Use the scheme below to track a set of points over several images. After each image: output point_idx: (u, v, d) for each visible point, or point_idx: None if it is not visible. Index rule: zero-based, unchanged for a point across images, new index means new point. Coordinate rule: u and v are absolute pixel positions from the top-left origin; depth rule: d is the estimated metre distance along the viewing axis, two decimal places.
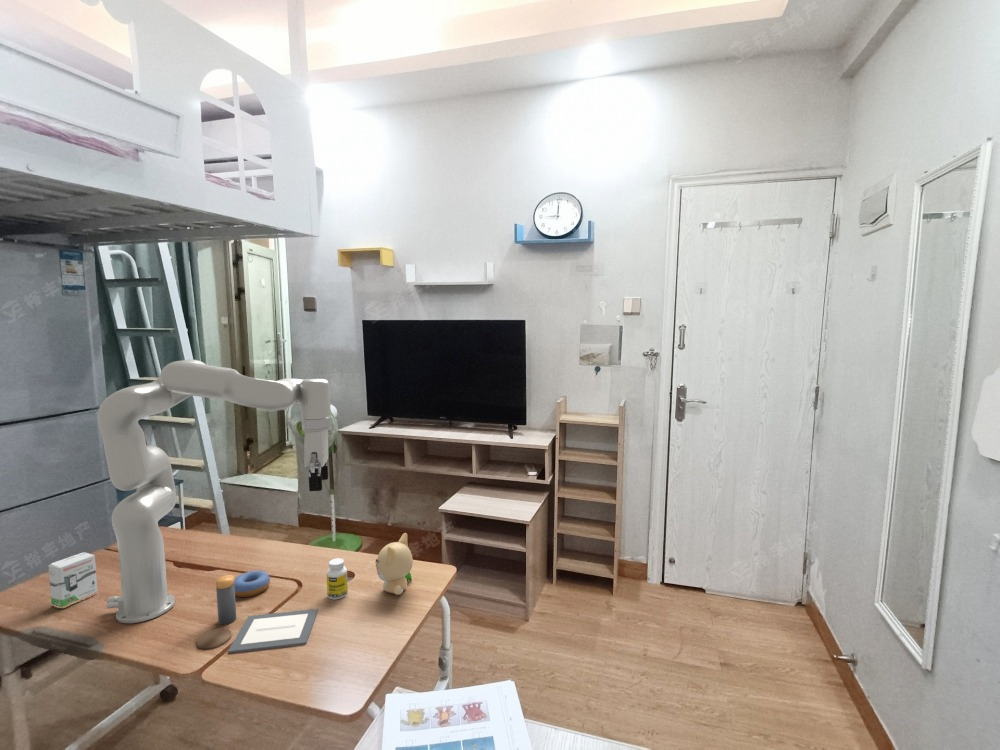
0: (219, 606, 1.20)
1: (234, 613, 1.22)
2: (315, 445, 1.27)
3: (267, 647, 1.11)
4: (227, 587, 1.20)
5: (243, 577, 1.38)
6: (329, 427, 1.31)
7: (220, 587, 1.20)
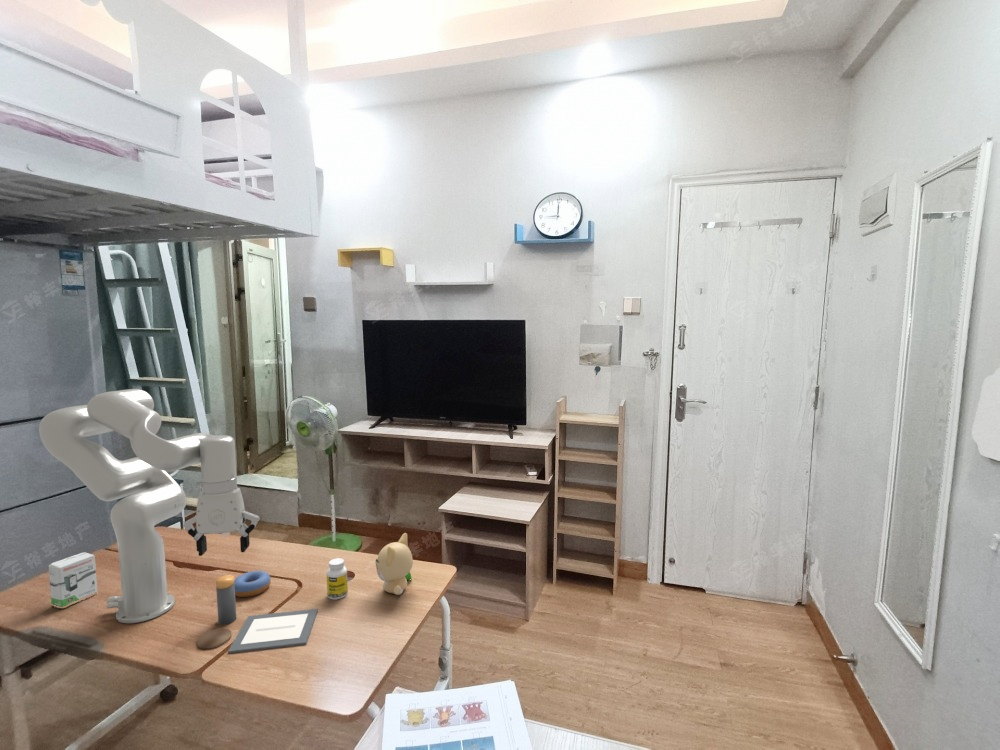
0: (219, 606, 1.20)
1: (234, 613, 1.22)
2: (242, 502, 1.21)
3: (267, 647, 1.11)
4: (227, 587, 1.20)
5: (243, 577, 1.38)
6: None
7: (220, 587, 1.20)
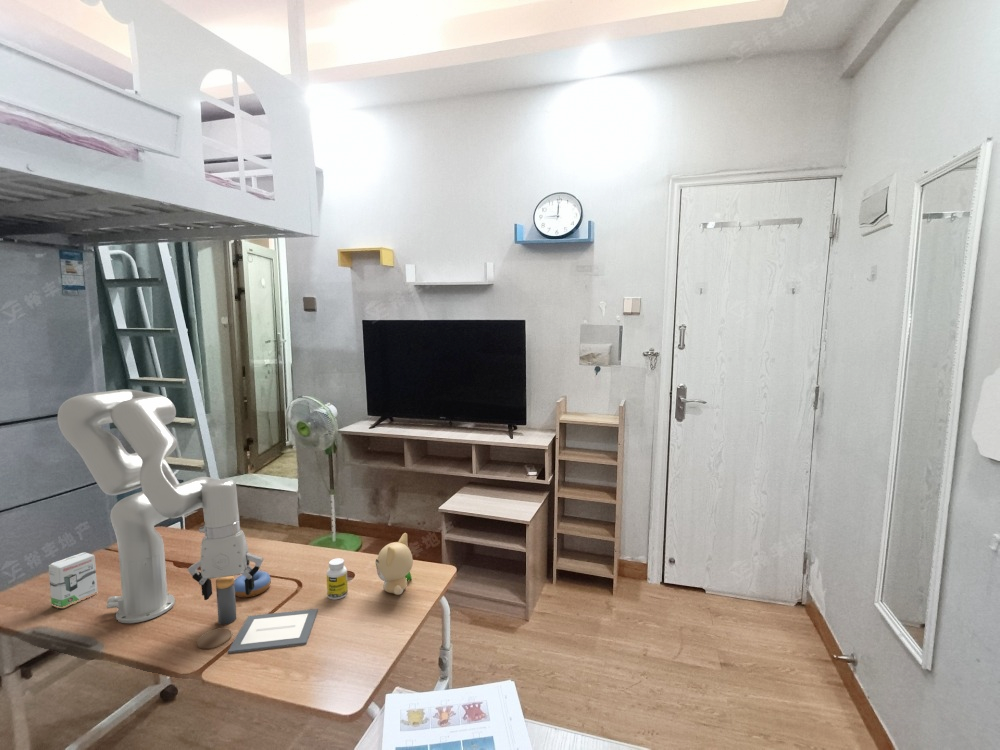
0: (219, 606, 1.20)
1: (234, 613, 1.22)
2: (246, 545, 1.22)
3: (267, 647, 1.11)
4: (227, 587, 1.20)
5: (244, 577, 1.38)
6: None
7: (220, 587, 1.20)
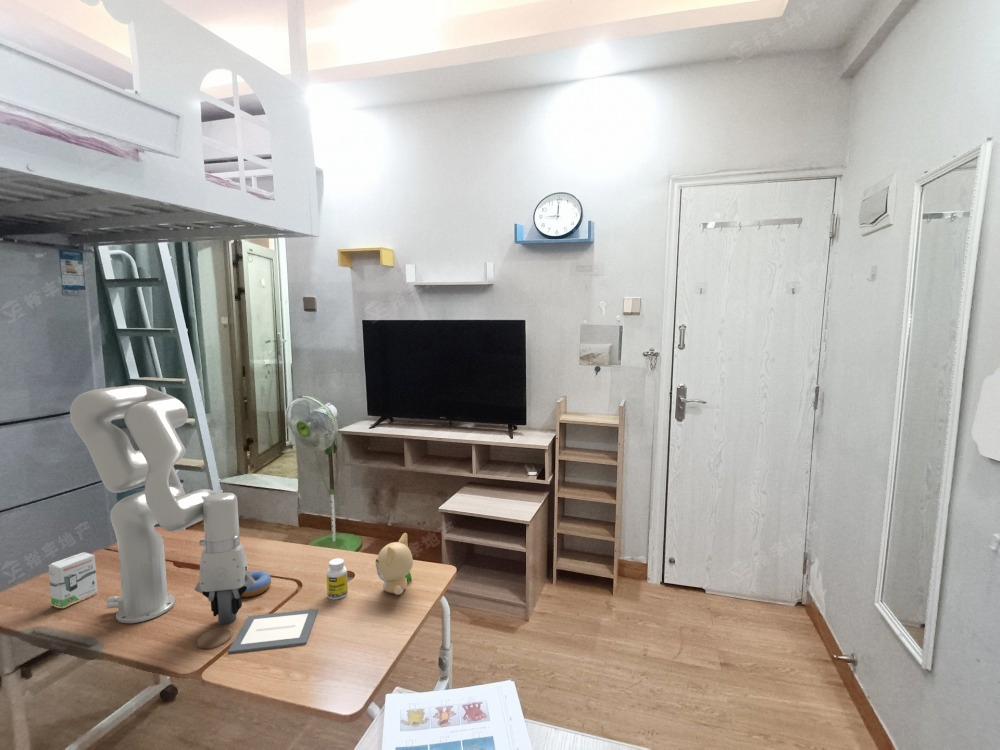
0: (219, 606, 1.20)
1: None
2: (245, 559, 1.23)
3: (267, 647, 1.11)
4: None
5: None
6: None
7: None
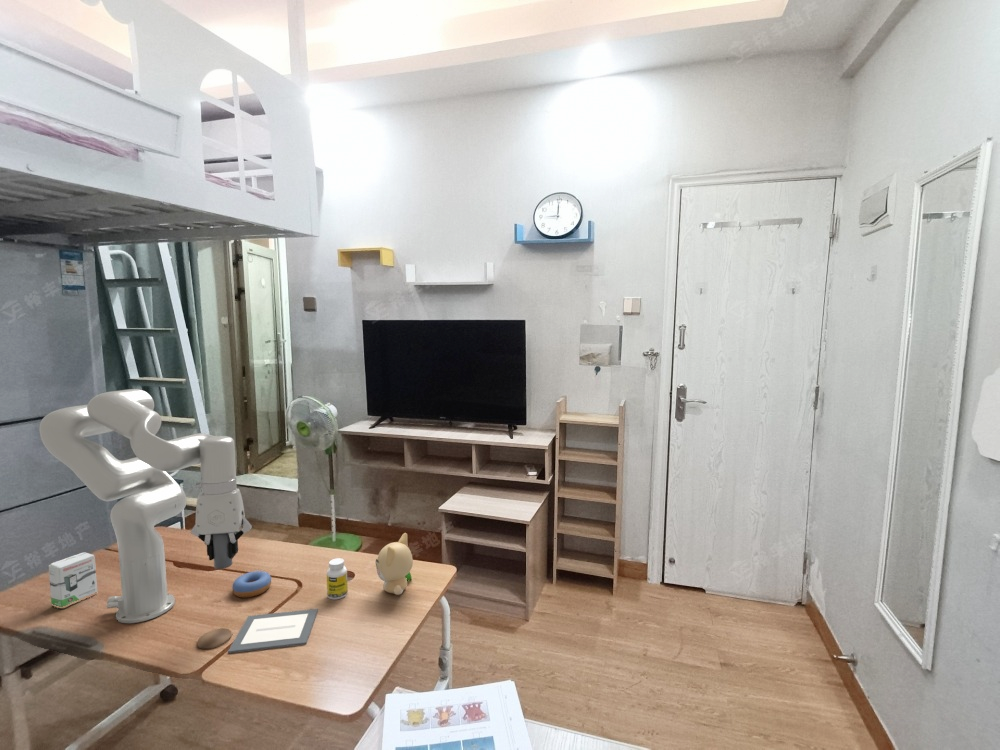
0: (215, 550, 1.19)
1: None
2: (242, 503, 1.21)
3: (267, 647, 1.11)
4: None
5: (244, 577, 1.37)
6: None
7: None
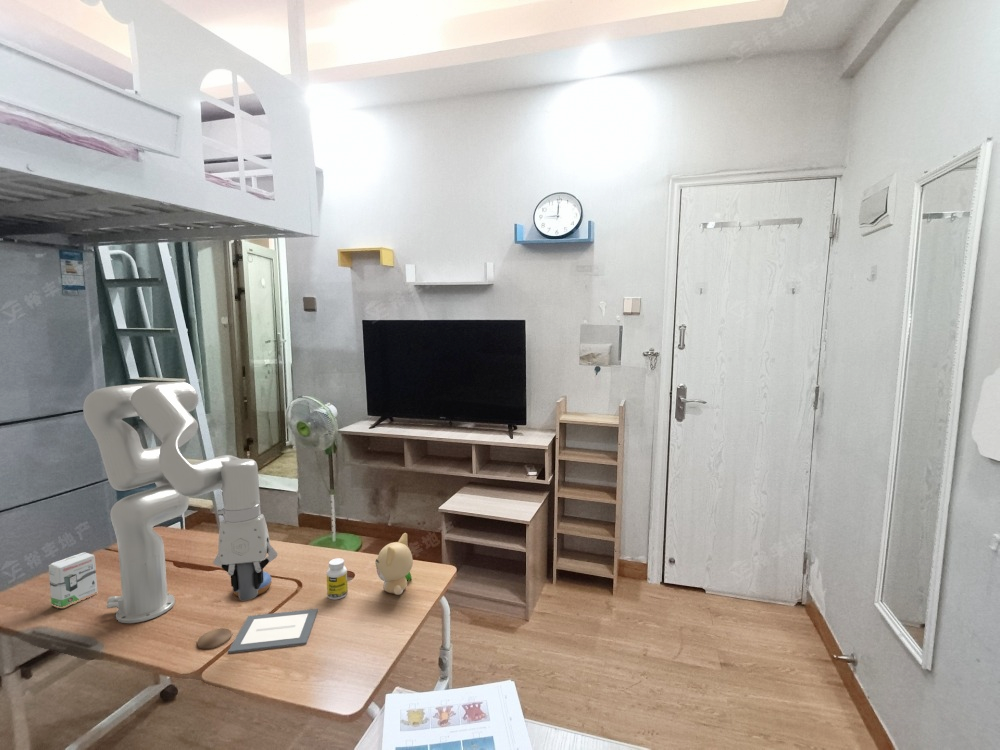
0: (240, 580, 1.12)
1: None
2: (266, 530, 1.14)
3: (267, 647, 1.11)
4: None
5: None
6: None
7: None
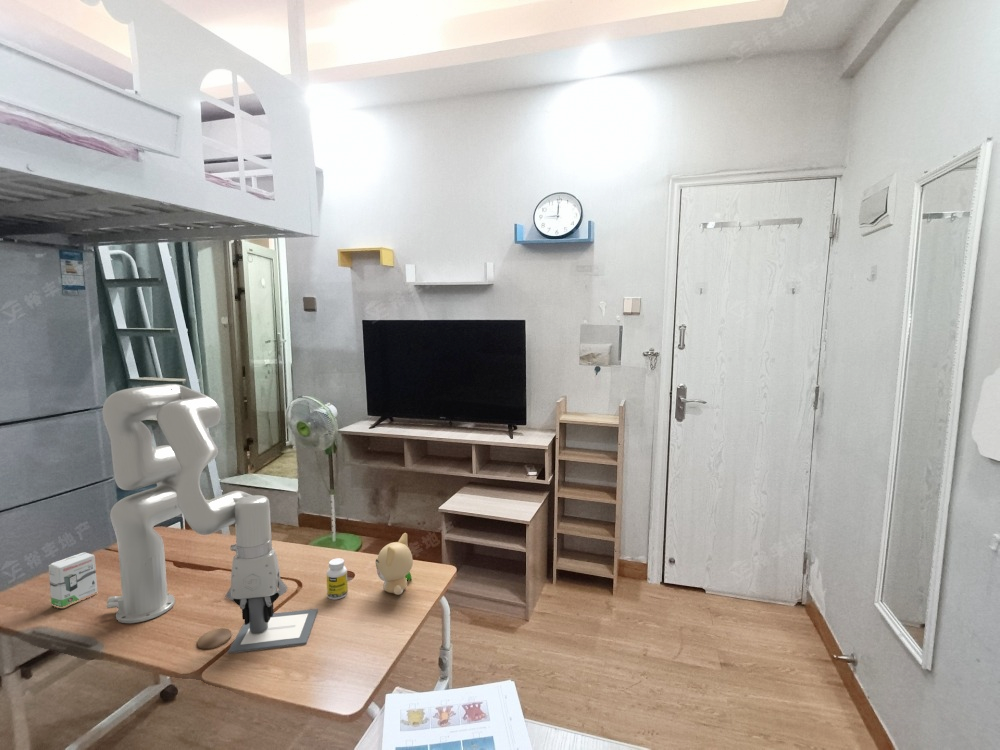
0: (251, 614, 1.15)
1: None
2: (277, 564, 1.17)
3: (267, 647, 1.11)
4: None
5: None
6: None
7: None
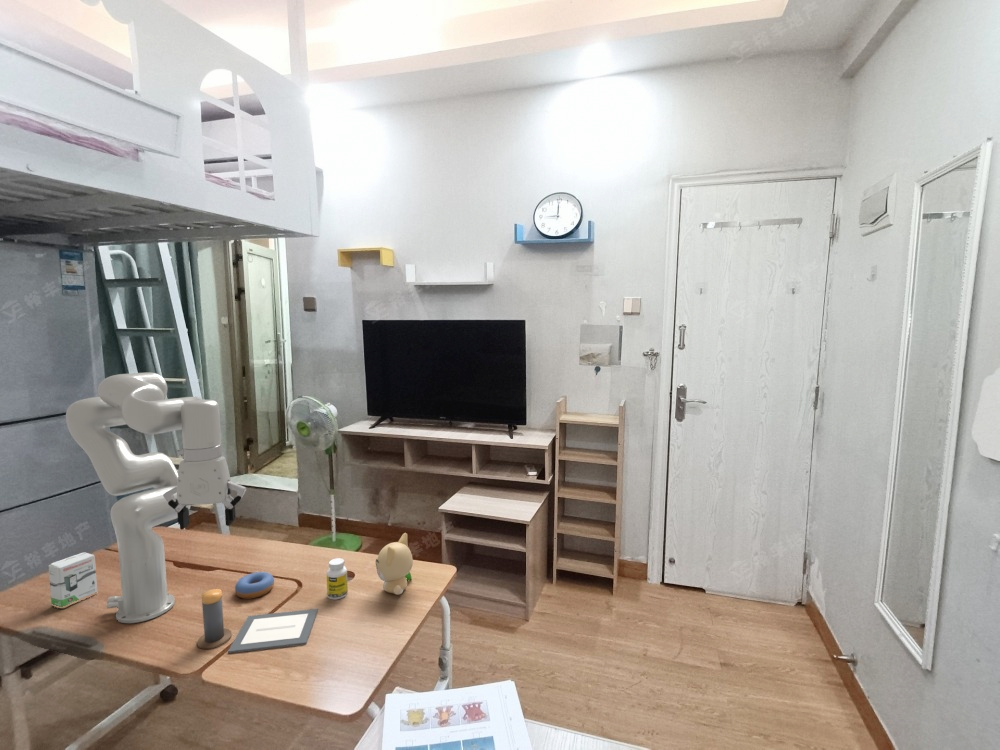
0: (205, 623, 1.13)
1: (222, 630, 1.15)
2: (227, 472, 1.13)
3: (267, 647, 1.11)
4: (214, 602, 1.12)
5: (247, 578, 1.37)
6: None
7: (206, 603, 1.12)
